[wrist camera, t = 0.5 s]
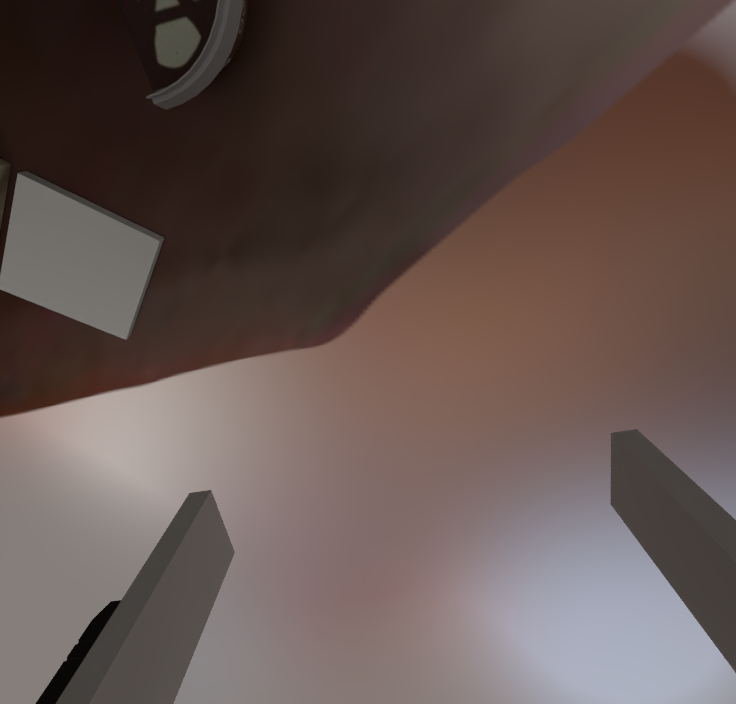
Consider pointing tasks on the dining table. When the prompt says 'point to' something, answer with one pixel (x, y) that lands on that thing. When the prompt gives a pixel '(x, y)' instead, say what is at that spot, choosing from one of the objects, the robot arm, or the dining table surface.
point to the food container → (184, 42)
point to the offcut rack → (3, 185)
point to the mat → (76, 256)
